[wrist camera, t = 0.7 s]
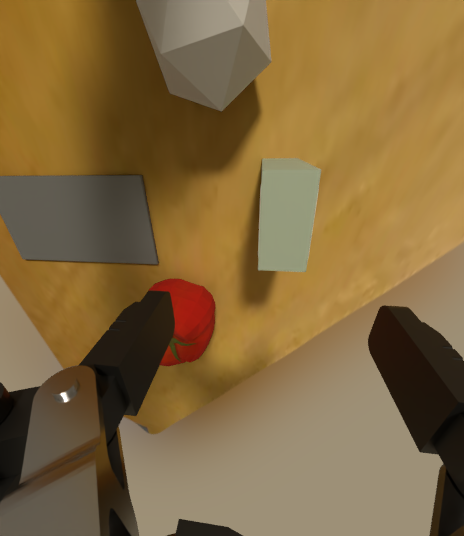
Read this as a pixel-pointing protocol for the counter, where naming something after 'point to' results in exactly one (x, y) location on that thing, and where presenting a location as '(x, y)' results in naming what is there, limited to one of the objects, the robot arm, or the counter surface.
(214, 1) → the die
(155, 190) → the counter surface
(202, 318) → the tomato
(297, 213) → the slab
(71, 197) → the mat
